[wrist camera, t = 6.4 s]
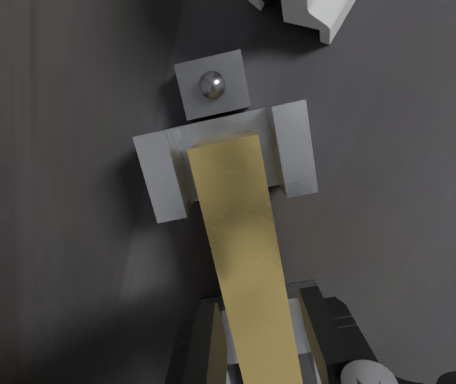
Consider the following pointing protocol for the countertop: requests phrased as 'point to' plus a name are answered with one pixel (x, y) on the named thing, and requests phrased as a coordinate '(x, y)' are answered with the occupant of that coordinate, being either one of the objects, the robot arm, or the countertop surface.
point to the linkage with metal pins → (219, 127)
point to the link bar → (246, 255)
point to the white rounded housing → (313, 14)
